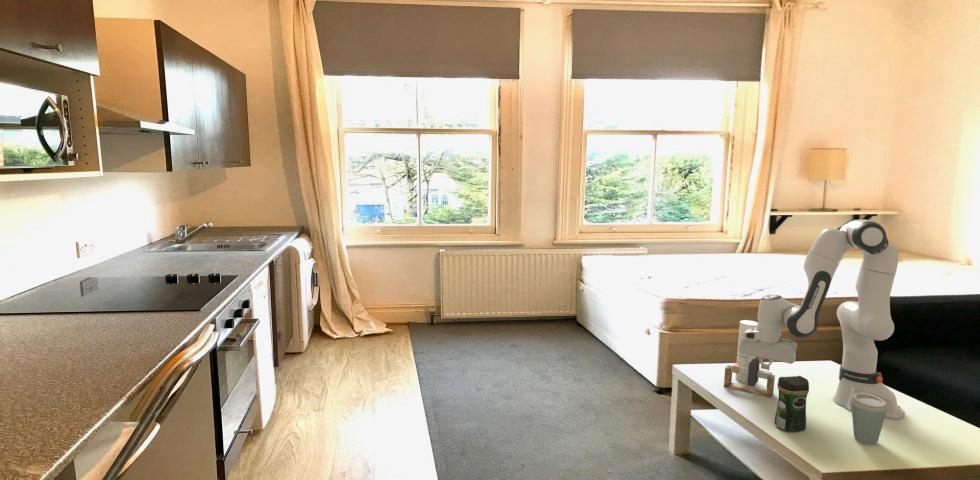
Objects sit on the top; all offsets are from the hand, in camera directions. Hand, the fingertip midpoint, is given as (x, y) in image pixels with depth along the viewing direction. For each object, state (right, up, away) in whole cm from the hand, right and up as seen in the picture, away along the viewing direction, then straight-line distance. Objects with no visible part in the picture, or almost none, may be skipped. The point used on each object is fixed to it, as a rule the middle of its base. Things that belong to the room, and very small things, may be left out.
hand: (765, 368), depth 227 cm
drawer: (-5, -10, +5) cm, 12 cm away
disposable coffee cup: (+16, -16, -36) cm, 43 cm away
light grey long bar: (-5, -3, +4) cm, 7 cm away
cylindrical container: (-1, -8, +17) cm, 19 cm away
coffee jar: (-5, -15, -27) cm, 31 cm away
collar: (-3, -7, +3) cm, 8 cm away
